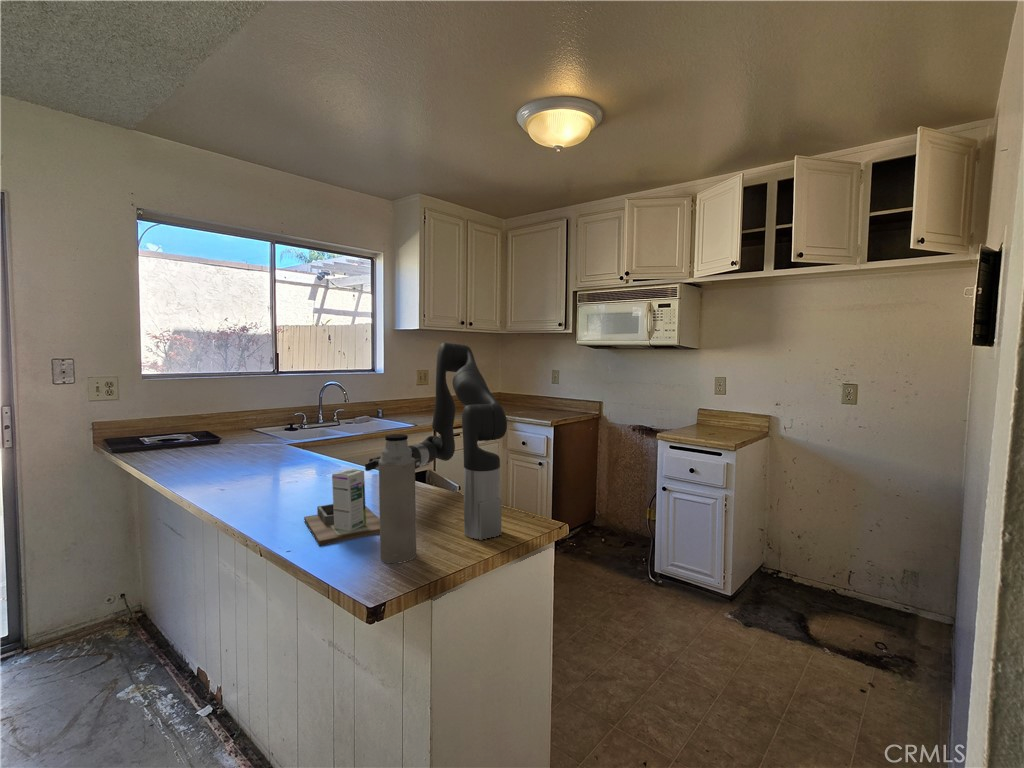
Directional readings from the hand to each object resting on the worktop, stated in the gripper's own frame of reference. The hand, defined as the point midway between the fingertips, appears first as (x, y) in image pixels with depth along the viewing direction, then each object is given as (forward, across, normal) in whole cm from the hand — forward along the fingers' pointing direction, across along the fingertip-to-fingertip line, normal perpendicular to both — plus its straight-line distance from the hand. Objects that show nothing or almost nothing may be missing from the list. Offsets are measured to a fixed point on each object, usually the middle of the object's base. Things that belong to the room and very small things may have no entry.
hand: (378, 468), depth 136 cm
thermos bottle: (+19, +20, +15) cm, 31 cm away
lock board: (+9, -5, +14) cm, 17 cm away
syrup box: (+11, -1, +13) cm, 17 cm away
